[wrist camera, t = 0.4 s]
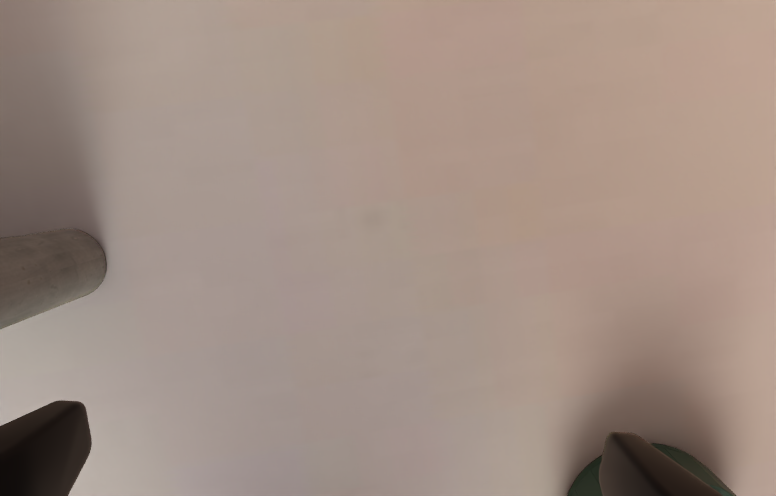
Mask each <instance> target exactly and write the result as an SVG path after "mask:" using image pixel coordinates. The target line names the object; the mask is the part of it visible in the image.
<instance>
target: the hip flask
mask: <svg viewBox="0 0 776 496" xmlns="http://www.w3.org/2000/svg"><path fill="white" fill-rule="evenodd" d="M105 272H106V260H105V256H104V253H103V251H102V249H101V247H100V245H99V244H98V243H97V242H96V241H95V240H94V238H92V237H91V236H90V235H88V234H86V233H84V232H82V231H80V230H76V229H60V230H54V231H49V232H43V233H37V234H31V235H25V236H18V237H7V238H0V329H2V328H5V327H7V326H10V325H12V324H15V323H17V322H20V321H22V320H25V319H27V318H30V317H32V316H35V315H37V314H40V313H42V312H45V311H48V310H50V309H53V308H55V307H58V306H60V305H63V304H65V303H68V302H70V301H73V300H75V299H78V298H80V297H83V296H85V295H88V294H90V293H91V292H93V291H94V290H96V289H97V288H98V287H99V285H100V284H101V283H102V281H103V279H104V276H105Z"/></svg>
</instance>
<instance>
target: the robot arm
mask: <svg viewBox="0 0 776 496" xmlns="http://www.w3.org/2000/svg"><path fill="white" fill-rule="evenodd" d="M90 450H91V434H90V429H89V423H88V417H87V412H86V408H85V406H84V404H83V403H81V402H78V401H55V402H53V403H50V404H48V405H46V406H44V407H42V408H39V409H37V410H35V411H33V412H31V413H28V414H26V415H24V416H22V417H20V418H17V419H15V420H13V421H11V422H9V423H6V424H4V425H2V426H0V496H68V494H69V492H70V490H71V488H72V486H73V485H74V483H75V481H76V479H77V477H78V475H79V473H80V471H81V469H82V467H83V465H84V464H85V462H86V460H87V458H88V456H89V453H90ZM599 482H600V487H601V490H602V494H603V496H723V495H722V494H720V493H719V492H718V491H716V490H715V489H713V488H712V487H710V486H709V485H708V484H706V483H705V482H703V481H702V480H701V479H699V478H698V477H696V476H695V475H693V474H692V473H691V472H689V471H688V470H686V469H685V468H683V467H682V466H681V465H679V464H678V463H676V462H675V461H674V460H672V459H671V458H669V457H668V456H666V455H665V454H664V453H662V452H661V451H659V450H658V449H657V448H655V447H654V446H652V445H651V444H649V443H648V442H647V441H645V440H644V439H642V438H641V437H640V436H638V435H636V434H634V433H626V432H611V433H610V434H609V435H608V436H607V438H606V442H605V446H604V451H603V455H602V460H601V464H600V469H599Z"/></svg>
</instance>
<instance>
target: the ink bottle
mask: <svg viewBox="0 0 776 496" xmlns="http://www.w3.org/2000/svg"><path fill="white" fill-rule="evenodd" d="M649 444H651V445H652V446H654V447H655V448H657V449H658V450H659V451H661V452H662V453H664V454H665V455H666V456H668V457H669V458H671V459H672V460H674V461H675V462H676V463H678V464H679V465H681V466H682V467H683V468H685V469H686V470H688V471H689V472H691V473H692V474H693V475H695V476H696V477H698V478H699V479H701V480H702V481H703V482H705V483H706V484H708V485H709V486H710V487H712V488H713V489H715V490H716V491H718V492H719V493H720V494H722V495H723V496H736V495H735V494H734V493H733V492H732V491H731V490H730V489H729V488H728V487H727V486H726V485H725V484H724V483H723V482H722V481H721V480H720V479H719V478H718V477H717V476H716V475H715V474H714V473H713V472H711V471H710V470H709V469H708V468H707V467H705V466H704V465H703V464H702V463H701V462H699V461H698V460H697V459H696V458H694V457H693V456H691V455H689V454H688V453H686V452H684V451H682V450H679V449H677V448H674V447H670V446H667V445H662V444H655V443H649ZM601 460H602V456H600V457H599V458H597V459H596V460H594V461H593V462H592V463H591V464H589V465H588V466H587V467H586V468H585V469H584V470H583V471H582V472H581V473H580V474H579V476H578V477H577V479H576V480H575V481H574V483H573V485H572V487H571V489H570V490H569V493H568V495H567V496H603V494H602V490H601V487H600V482H599V469H600V464H601Z"/></svg>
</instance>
